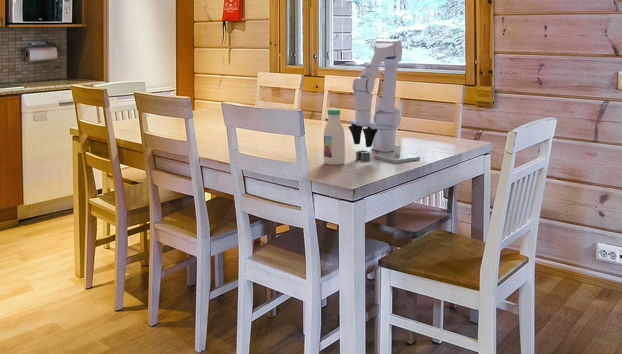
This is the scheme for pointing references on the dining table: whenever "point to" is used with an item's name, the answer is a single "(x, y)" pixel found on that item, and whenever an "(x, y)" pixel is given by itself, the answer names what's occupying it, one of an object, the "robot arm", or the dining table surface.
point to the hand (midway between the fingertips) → (362, 145)
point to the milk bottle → (334, 139)
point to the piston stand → (397, 156)
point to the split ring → (363, 155)
